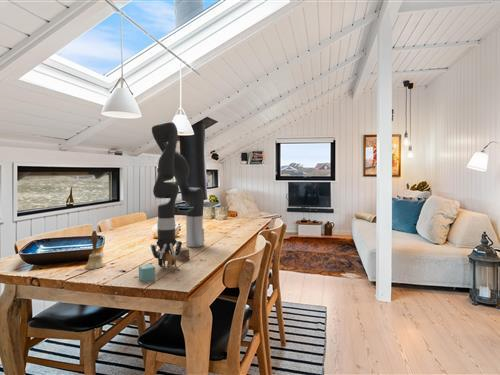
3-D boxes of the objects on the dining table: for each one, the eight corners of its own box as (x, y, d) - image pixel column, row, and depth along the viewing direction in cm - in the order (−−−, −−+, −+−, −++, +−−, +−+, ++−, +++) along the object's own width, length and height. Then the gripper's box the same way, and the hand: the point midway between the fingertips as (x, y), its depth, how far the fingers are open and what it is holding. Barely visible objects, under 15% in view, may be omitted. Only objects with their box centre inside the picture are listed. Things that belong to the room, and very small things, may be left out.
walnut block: (185, 257, 155) (185, 247, 155) (189, 259, 151) (189, 249, 150) (175, 258, 152) (175, 248, 152) (179, 261, 148) (179, 251, 148)
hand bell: (81, 266, 139) (80, 231, 138) (100, 262, 145) (99, 228, 144) (89, 270, 133) (88, 233, 132) (108, 266, 139) (108, 231, 138)
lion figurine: (154, 266, 139) (154, 246, 139) (164, 263, 143) (164, 244, 143) (174, 273, 130) (174, 252, 129) (184, 270, 134) (184, 249, 134)
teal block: (151, 275, 128) (151, 263, 127) (155, 279, 123) (155, 267, 123) (138, 278, 125) (138, 265, 125) (142, 281, 121) (142, 269, 120)
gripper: (178, 224, 144) (179, 261, 145) (147, 227, 136) (147, 266, 137) (185, 227, 138) (185, 265, 139) (152, 230, 130) (153, 271, 131)
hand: (166, 265), depth 138 cm, fingers closed on lion figurine, 4 cm apart
